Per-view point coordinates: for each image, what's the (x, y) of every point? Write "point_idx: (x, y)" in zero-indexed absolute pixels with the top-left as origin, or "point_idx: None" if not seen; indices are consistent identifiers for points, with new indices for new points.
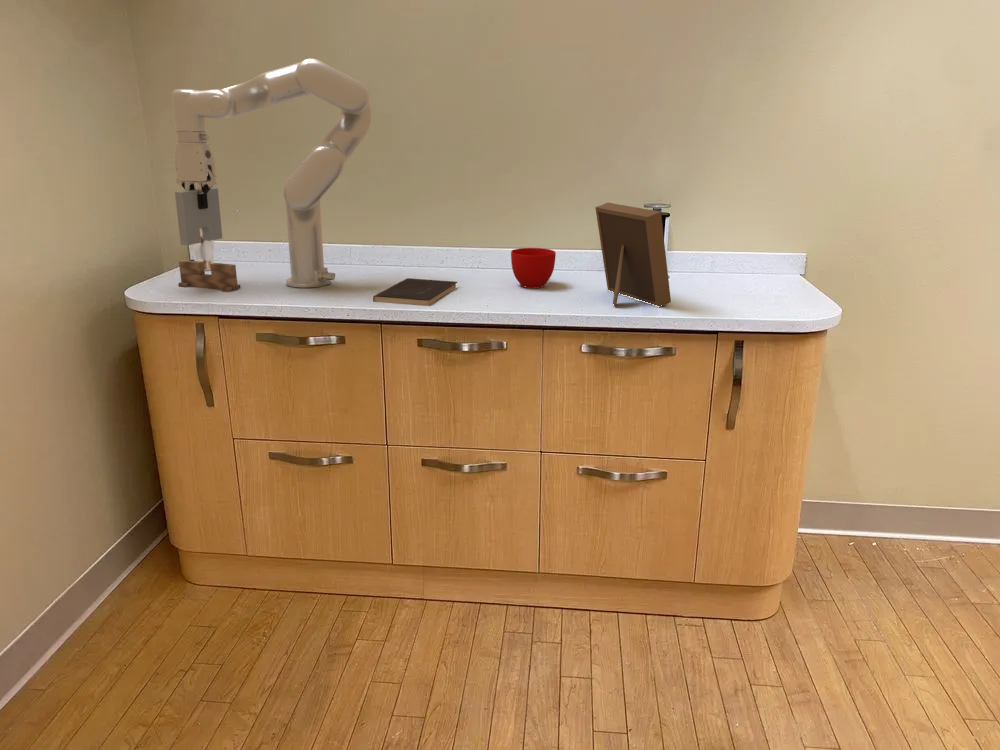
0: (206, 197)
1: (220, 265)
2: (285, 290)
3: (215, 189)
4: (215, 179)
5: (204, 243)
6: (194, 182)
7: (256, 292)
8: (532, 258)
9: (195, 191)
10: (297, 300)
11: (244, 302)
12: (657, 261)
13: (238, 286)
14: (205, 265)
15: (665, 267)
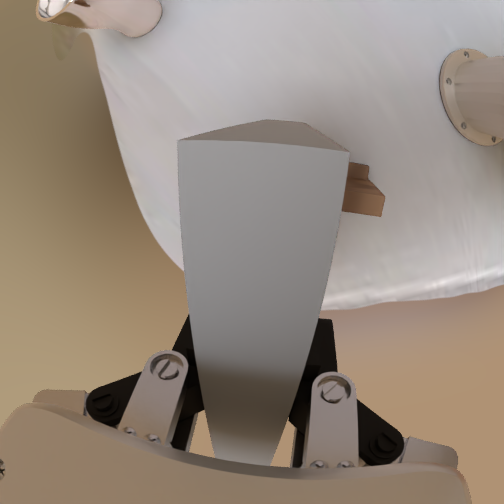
0: (333, 364)
1: (345, 211)
2: (462, 167)
3: (336, 211)
4: (455, 476)
5: (117, 10)
6: (167, 445)
7: (418, 197)
8: None
9: (279, 439)
10: (493, 240)
11: (422, 275)
12: None
13: (367, 173)
14: (145, 25)
15: None
